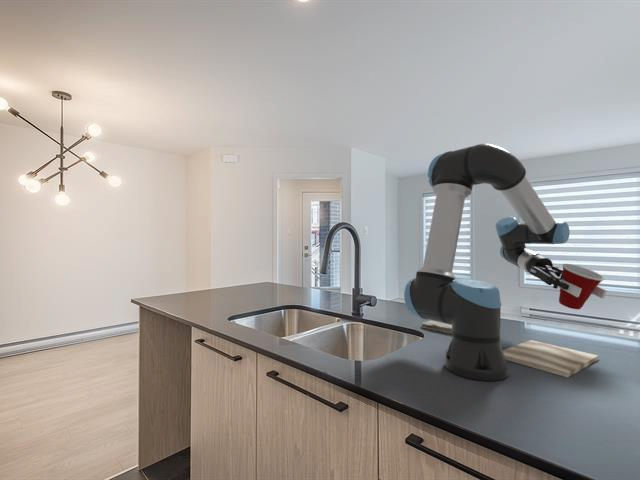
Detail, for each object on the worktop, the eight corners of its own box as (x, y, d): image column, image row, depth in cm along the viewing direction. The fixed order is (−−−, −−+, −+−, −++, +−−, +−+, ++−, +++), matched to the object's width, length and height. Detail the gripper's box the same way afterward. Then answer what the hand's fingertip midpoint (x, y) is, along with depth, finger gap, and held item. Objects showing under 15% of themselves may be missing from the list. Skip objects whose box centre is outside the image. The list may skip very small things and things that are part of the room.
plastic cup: (596, 318, 98) (612, 280, 94) (554, 307, 102) (567, 271, 98) (585, 303, 107) (599, 269, 104) (547, 294, 111) (558, 260, 108)
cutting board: (567, 377, 83) (567, 372, 83) (495, 356, 98) (495, 352, 98) (598, 359, 96) (598, 355, 96) (530, 343, 111) (530, 340, 111)
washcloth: (434, 323, 139) (434, 316, 139) (478, 332, 126) (478, 324, 126) (419, 329, 131) (419, 321, 131) (465, 339, 118) (465, 330, 118)
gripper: (557, 275, 122) (616, 306, 101) (506, 272, 119) (556, 303, 98) (564, 256, 120) (626, 283, 99) (512, 252, 117) (565, 280, 96)
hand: (591, 293), depth 98 cm, fingers closed on plastic cup, 8 cm apart
